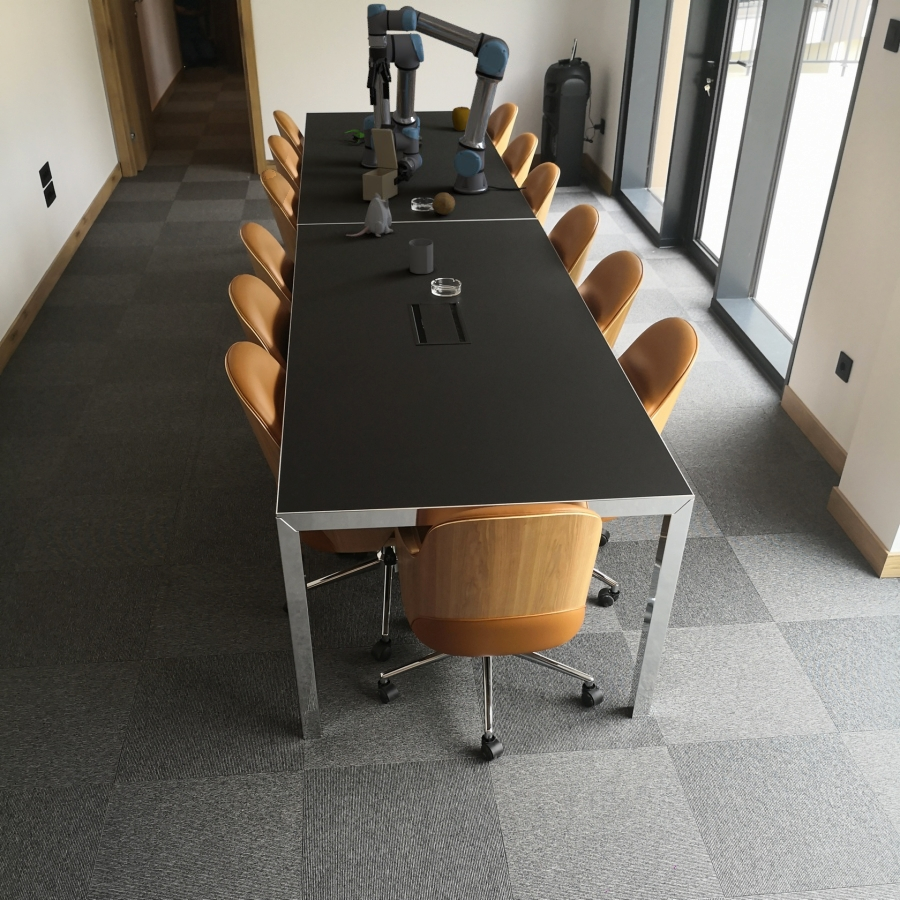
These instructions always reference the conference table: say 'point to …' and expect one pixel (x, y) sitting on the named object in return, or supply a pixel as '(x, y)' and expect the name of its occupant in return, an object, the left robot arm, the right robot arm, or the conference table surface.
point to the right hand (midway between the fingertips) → (380, 102)
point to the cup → (421, 256)
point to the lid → (385, 146)
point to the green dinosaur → (356, 137)
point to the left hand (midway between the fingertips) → (384, 181)
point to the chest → (379, 184)
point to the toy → (377, 217)
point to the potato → (443, 203)
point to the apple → (460, 118)
